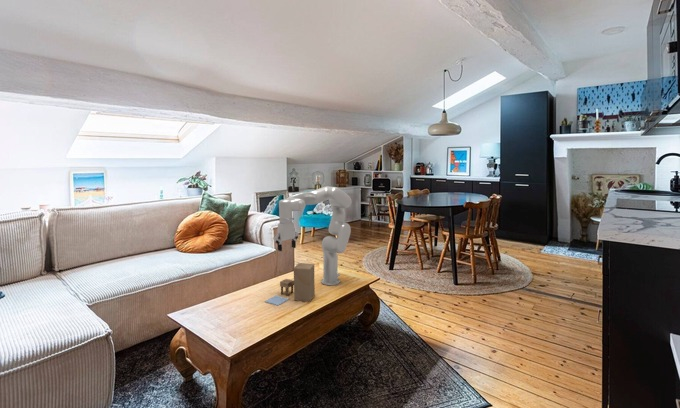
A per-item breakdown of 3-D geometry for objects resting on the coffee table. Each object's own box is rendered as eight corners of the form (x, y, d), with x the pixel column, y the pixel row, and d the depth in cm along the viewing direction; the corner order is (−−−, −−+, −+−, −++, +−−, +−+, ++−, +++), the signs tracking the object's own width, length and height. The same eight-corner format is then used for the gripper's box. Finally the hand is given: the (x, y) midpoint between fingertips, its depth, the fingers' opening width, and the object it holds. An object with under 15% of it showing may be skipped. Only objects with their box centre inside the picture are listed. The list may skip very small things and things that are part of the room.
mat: (275, 296, 211) (275, 295, 210) (288, 299, 206) (288, 298, 205) (264, 302, 202) (264, 301, 202) (277, 305, 197) (277, 304, 197)
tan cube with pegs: (286, 290, 219) (286, 278, 218) (294, 292, 216) (293, 280, 215) (280, 294, 214) (280, 281, 213) (287, 296, 211) (287, 283, 210)
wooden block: (310, 301, 203) (309, 269, 200) (293, 300, 205) (293, 267, 202) (314, 295, 212) (314, 263, 210) (299, 293, 214) (298, 262, 212)
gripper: (294, 217, 211) (295, 245, 213) (269, 221, 199) (270, 250, 202) (301, 219, 205) (302, 247, 208) (276, 223, 194) (277, 253, 196)
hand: (286, 249), depth 205 cm, fingers open, 9 cm apart
